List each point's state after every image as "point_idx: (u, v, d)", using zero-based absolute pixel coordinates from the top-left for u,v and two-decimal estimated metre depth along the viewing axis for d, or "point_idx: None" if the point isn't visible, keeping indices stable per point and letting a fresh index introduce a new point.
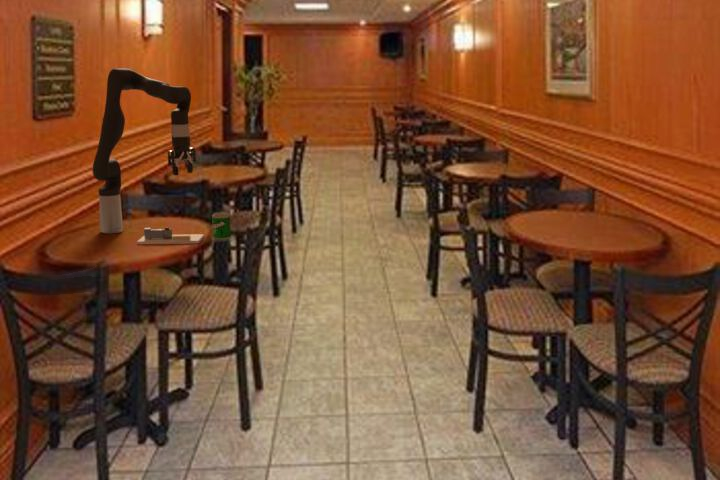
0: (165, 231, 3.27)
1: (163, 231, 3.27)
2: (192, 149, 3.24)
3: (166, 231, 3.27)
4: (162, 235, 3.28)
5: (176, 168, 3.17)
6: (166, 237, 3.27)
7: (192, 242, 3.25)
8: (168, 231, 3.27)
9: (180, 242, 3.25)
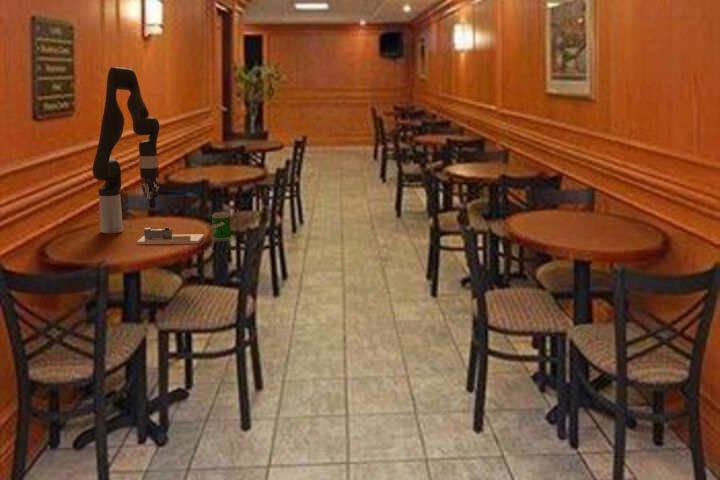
0: (165, 231, 3.27)
1: (163, 231, 3.27)
2: None
3: (166, 231, 3.27)
4: (162, 235, 3.28)
5: None
6: (166, 237, 3.27)
7: (192, 242, 3.25)
8: (168, 231, 3.27)
9: (180, 242, 3.25)
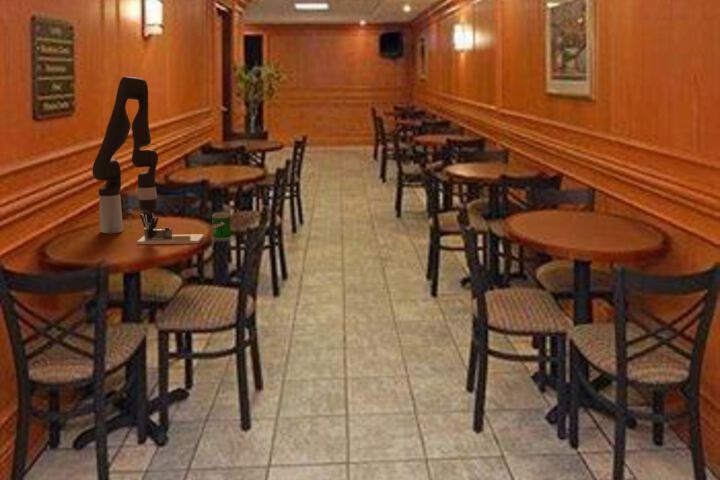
0: (165, 231, 3.27)
1: (163, 231, 3.27)
2: None
3: (166, 231, 3.27)
4: (162, 235, 3.28)
5: (147, 231, 3.25)
6: (166, 237, 3.27)
7: (192, 242, 3.25)
8: (168, 231, 3.27)
9: (180, 242, 3.25)
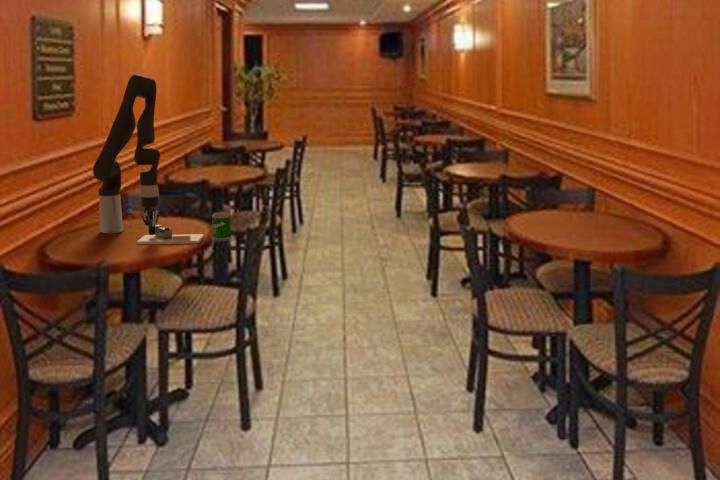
0: (162, 231, 3.28)
1: (162, 230, 3.29)
2: None
3: (163, 231, 3.27)
4: (162, 234, 3.30)
5: None
6: (163, 237, 3.28)
7: (192, 242, 3.25)
8: (164, 231, 3.27)
9: (180, 242, 3.25)
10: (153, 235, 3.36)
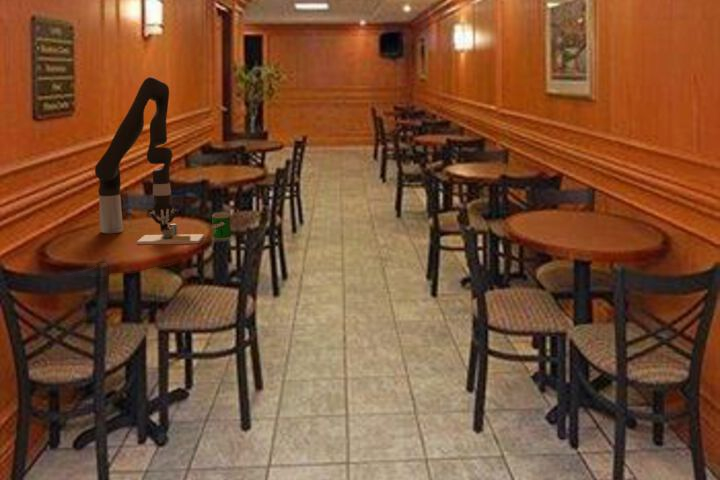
0: None
1: None
2: None
3: None
4: None
5: None
6: None
7: (192, 242, 3.25)
8: None
9: (180, 242, 3.25)
10: (153, 235, 3.36)
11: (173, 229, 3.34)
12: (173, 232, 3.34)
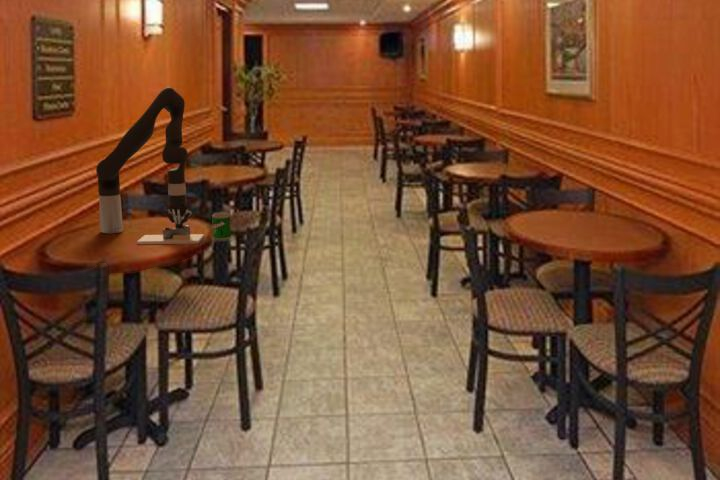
0: None
1: None
2: None
3: None
4: None
5: None
6: None
7: (192, 242, 3.25)
8: None
9: (180, 242, 3.25)
10: (153, 235, 3.36)
11: (179, 230, 3.31)
12: (178, 233, 3.31)
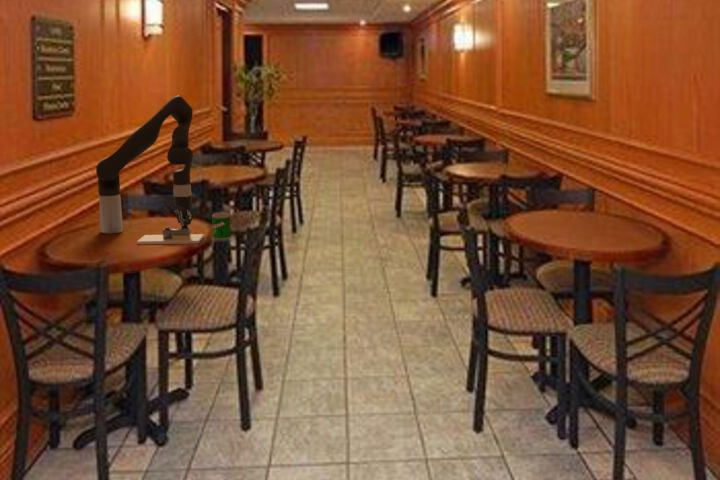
0: None
1: None
2: None
3: None
4: None
5: None
6: None
7: (192, 242, 3.25)
8: None
9: (180, 242, 3.25)
10: (153, 235, 3.36)
11: (178, 232, 3.28)
12: None
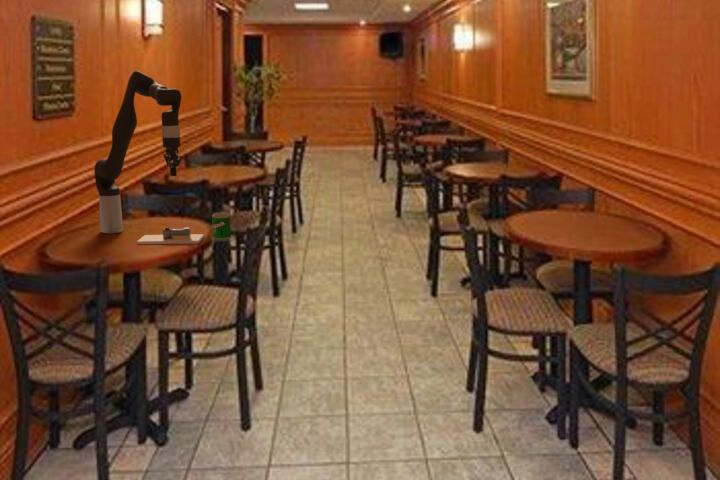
0: None
1: None
2: None
3: None
4: None
5: (175, 169, 3.32)
6: None
7: (192, 242, 3.25)
8: None
9: (180, 242, 3.25)
10: (153, 235, 3.36)
11: (178, 232, 3.28)
12: None
